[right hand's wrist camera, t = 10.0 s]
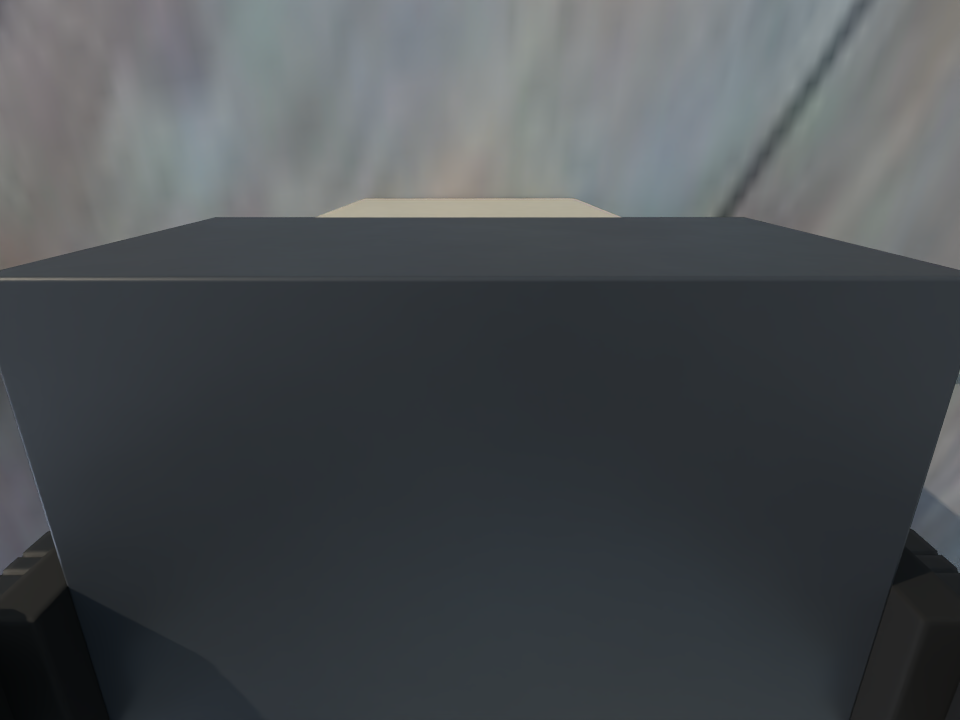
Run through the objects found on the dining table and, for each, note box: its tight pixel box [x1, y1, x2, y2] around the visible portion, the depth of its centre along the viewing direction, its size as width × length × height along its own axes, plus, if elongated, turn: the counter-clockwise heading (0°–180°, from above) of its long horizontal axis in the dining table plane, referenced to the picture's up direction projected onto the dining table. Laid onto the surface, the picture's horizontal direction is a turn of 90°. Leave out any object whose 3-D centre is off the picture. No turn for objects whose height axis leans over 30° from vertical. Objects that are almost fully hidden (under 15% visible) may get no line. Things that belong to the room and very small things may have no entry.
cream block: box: [317, 198, 619, 217], centre depth 28 cm, size 10×34×10 cm, turn 0°
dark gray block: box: [0, 217, 960, 720], centre depth 11 cm, size 11×11×6 cm
